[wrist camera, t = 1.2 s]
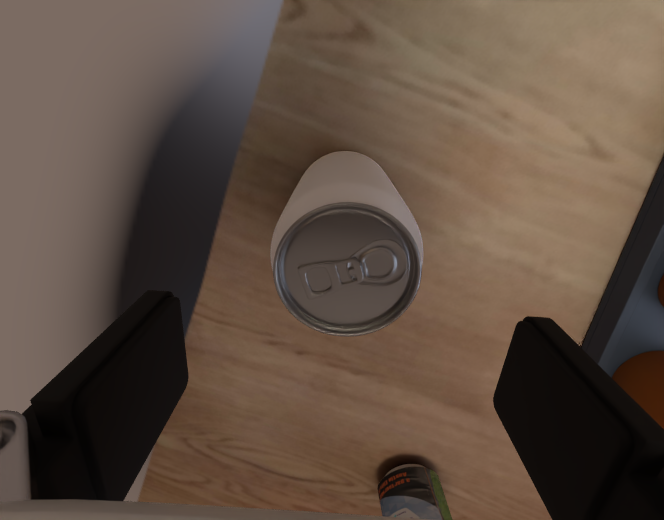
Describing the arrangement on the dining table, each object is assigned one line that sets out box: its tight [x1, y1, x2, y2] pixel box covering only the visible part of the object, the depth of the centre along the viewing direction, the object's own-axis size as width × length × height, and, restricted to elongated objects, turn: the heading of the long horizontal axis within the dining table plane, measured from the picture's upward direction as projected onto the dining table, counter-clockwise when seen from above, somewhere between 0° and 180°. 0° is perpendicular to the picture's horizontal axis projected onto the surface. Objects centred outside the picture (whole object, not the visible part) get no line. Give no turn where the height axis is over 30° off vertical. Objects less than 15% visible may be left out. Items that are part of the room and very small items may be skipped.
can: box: [270, 151, 423, 336], centre depth 19 cm, size 6×6×12 cm
